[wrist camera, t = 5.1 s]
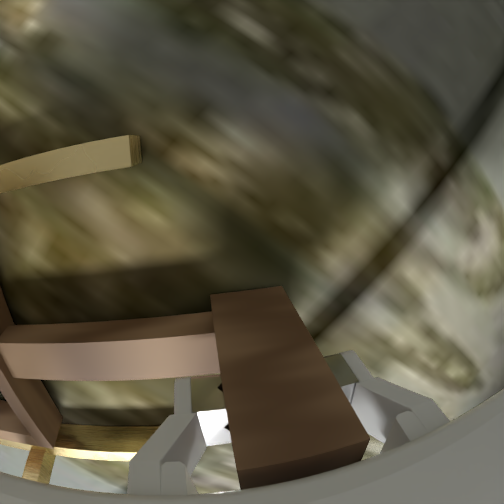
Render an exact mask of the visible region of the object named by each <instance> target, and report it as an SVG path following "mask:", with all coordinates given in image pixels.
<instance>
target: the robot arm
mask: <svg viewBox="0 0 504 504" xmlns="http://www.w3.org/2000/svg"><path fill="white" fill-rule="evenodd" d="M324 359H325V361H326V362H327V364H328V366H329V368H330V369H331V371H332V373H333V374H334V376H335V378H336V380H337V381H338V383H339V385H340V387H341V388H342V390H343V392H344V394H345V395H346V397H347V399H348V400H349V402H350V404H351V406H352V407H353V409H354V411H355V413H356V414H357V416H358V418H359V420H360V421H361V423H362V425H363V427H364V428H365V430H366V432H367V433H368V434H370V435H371V436H373V437H374V438H376V439H378V440H379V441H381V442H382V443H384V446H383V448H382V450H381V452H380V454H378V455H376V456H373V457H370V458H367V459H365V460H362V461H359V462H356V463H353V464H350V465H347V466H344V467H341V468H337V469H334V470H331V471H327V472H324V473H320V474H316V475H312V476H309V477H305V478H300V479H296V480H292V481H287V482H283V483H278V484H272V485H267V486H261V487H255V488H249V489H242V490H235V491H226V492H217V493H205V494H198V492H197V490H196V487H195V485H194V483H193V481H192V479H191V477H190V476H191V474H192V472H193V470H194V469H195V467H196V465H197V463H198V462H199V460H200V458H201V456H202V455H203V453H204V451H205V449H206V448H207V447H206V446H210V445H218V444H225V443H232V441H231V435H230V430H229V424H228V418H227V412H226V406H225V399H224V393H223V387H222V380H221V374H219V375H209V376H197V377H188V378H176V379H175V384H174V415H169V416H168V417H167V418H166V420H165V421H164V422H163V423H162V424H161V426H160V427H159V428H158V429H157V430H156V431H155V433H154V434H153V435H152V436H151V437H150V438H149V439H148V441H147V442H146V443H145V444H144V445H143V446H142V448H141V449H140V450H139V451H138V452H137V453H136V454H135V456H134V457H133V458H132V459H131V460H130V463H129V474H128V487H127V494H114V493H103V492H94V491H86V490H79V489H72V488H66V487H61V486H55V485H50V484H45V483H41V482H36V481H32V480H28V479H24V478H20V477H17V476H13V475H10V474H6V473H3V472H0V504H504V389H502V390H501V391H499V392H498V393H497V394H495V395H494V396H492V397H490V398H489V399H487V400H486V401H484V402H483V403H481V404H480V405H478V406H476V407H475V408H473V409H471V410H470V411H468V412H466V413H464V414H463V415H461V416H459V417H457V418H456V419H454V420H452V421H450V420H449V419H448V418H447V417H446V415H445V414H444V413H443V412H442V410H441V409H440V408H439V407H438V406H437V404H436V403H435V402H434V401H433V399H430V398H428V397H425V396H423V395H420V394H418V393H415V392H413V391H410V390H408V389H405V388H403V387H400V386H398V385H395V384H393V383H391V382H388V381H386V380H383V379H381V378H379V377H376V378H374V377H373V376H372V375H371V373H370V372H369V370H368V369H367V368H366V366H365V365H364V364H363V362H362V361H361V360H360V358H359V357H358V355H357V354H356V353H355V351H353V350H350V351H346V352H342V353H339V354H334V355H330V356H325V357H324Z"/></svg>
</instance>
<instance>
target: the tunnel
mask: <svg viewBox="0 0 504 504" xmlns="http://www.w3.org/2000/svg"><path fill="white" fill-rule="evenodd" d="M139 163H142V156H141V144H140V136H135V135H125V136H119V137H114V138H108V139H103V140H97V141H92V142H87V143H83V144H78V145H73V146H69V147H65V148H60V149H56V150H52V151H48V152H44V153H40V154H37V155H33V156H29V157H26V158H22V159H19V160H15V161H12V162H9V163H6V164H2V165H0V194H1V193H5V192H9V191H13V190H16V189H20V188H25V187H29V186H33V185H37V184H41V183H46V182H50V181H55V180H60V179H65V178H69V177H74V176H80V175H85V174H90V173H96V172H102V171H108V170H114V169H120V168H126V167H132V166H134V165H137V164H139ZM159 427H160V426H90V425H73V424H61V425H60V429H59V432H58V435H57V439H56V442H55V446H54V449H52V448H45V447H39V446H33V445H28V444H23V443H18V442H13V441H8V440H4V439H0V444H2V445H6V446H10V447H14V448H19V449H24V450H29V451H30V452H29V456H28V459H27V462H26V465H25V469H24V472H23V475H22V478H24V479H28V480H32V481H36V482H41V483H45V484H49V481H50V477H51V472H52V468H53V464H54V460H55V456H56V455H58V456H66V457H74V458H83V459H95V460H109V461H130V460H131V459H132V458H133V457H134V456H135V454H136V453H137V452H138V451H139V450H140V449H141V448H142V446H143V445H144V444H145V443H146V442H147V441H148V439H149V438H150V437H151V436H152V435H153V434H154V433H155V431H156V430H157V429H158V428H159Z"/></svg>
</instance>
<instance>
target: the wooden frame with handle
mask: <svg viewBox="0 0 504 504" xmlns="http://www.w3.org/2000/svg"><path fill="white" fill-rule="evenodd" d="M210 299H211V307H212V311H211V312H202V313H193V314H184V315H174V316H163V317H152V318H141V319H128V320H115V321H100V322H84V323H64V324H39V325H15V324H14V322H13V320H12V317H11V314H10V312H9V309H8V307H7V304H6V301H5V299H4V296H3V293H2V290H1V287H0V391H1V393H2V394H3V396H4V398H5V399H6V401H2V400H0V439H4V440H8V441H13V442H18V443H23V444H28V445H33V446H39V447H45V448H52V449H54V446H55V442H56V439H57V435H58V432H59V429H60V425H61V422H62V419H63V417H62V415H61V414H60V412H59V410H58V409H57V407H56V406H55V404H54V402H53V401H52V399H51V397H50V395H49V394H48V392H47V390H46V388H45V387H44V385H43V383H42V381H41V380H65V381H116V380H142V379H159V378H173V377H185V376H195V375H205V374H214V373H221V380H222V387H223V393H224V399H225V406H226V412H227V418H228V424H229V430H230V435H231V441H232V447H233V452H234V458H235V463H236V468H237V473H238V478H239V483H240V488H241V490H242V489H249V488H255V487H261V486H267V485H272V484H278V483H283V482H287V481H292V480H296V479H300V478H305V477H309V476H312V475H316V474H320V473H324V472H327V471H331V470H334V469H337V468H341V467H344V466H347V465H350V464H353V463H356V462H359V461H361V459H362V457H363V455H364V452H365V450H366V448H367V445H368V443H369V440H370V437H369V435H368V434H367V432H366V430H365V428H364V427H363V425H362V423H361V421H360V420H359V418H358V416H357V414H356V413H355V411H354V409H353V407H352V406H351V404H350V402H349V400H348V399H347V397H346V395H345V394H344V392H343V390H342V388H341V387H340V385H339V383H338V381H337V380H336V378H335V376H334V374H333V373H332V371H331V369H330V368H329V366H328V364H327V362H326V361H325V359H324V357H323V356H322V354H321V352H320V350H319V349H318V347H317V345H316V344H315V342H314V340H313V338H312V337H311V335H310V333H309V332H308V330H307V328H306V326H305V325H304V323H303V321H302V320H301V318H300V316H299V314H298V313H297V311H296V309H295V308H294V306H293V304H292V302H291V301H290V299H289V297H288V296H287V294H286V292H285V291H284V289H283V287H282V286H277V287H269V288H262V289H254V290H246V291H238V292H229V293H221V294H212V295H210Z"/></svg>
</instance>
